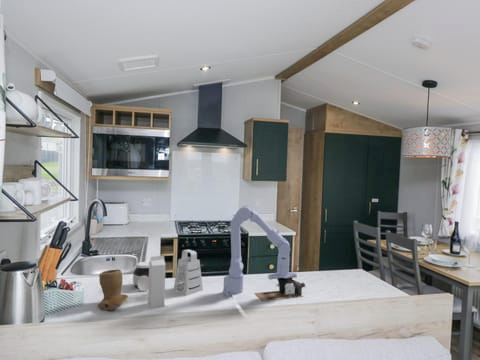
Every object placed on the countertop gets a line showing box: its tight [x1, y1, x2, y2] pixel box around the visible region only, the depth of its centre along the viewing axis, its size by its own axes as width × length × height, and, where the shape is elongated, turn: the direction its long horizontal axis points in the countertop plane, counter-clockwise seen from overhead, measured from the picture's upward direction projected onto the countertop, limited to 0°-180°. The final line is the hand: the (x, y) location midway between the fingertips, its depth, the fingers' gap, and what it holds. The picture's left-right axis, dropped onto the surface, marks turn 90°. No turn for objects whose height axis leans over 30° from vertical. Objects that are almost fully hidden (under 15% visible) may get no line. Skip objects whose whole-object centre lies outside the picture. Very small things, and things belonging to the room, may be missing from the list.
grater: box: [173, 248, 204, 296], centre depth 166 cm, size 10×10×20 cm
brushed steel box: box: [282, 283, 297, 296], centre depth 162 cm, size 7×7×4 cm
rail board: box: [254, 280, 304, 302], centre depth 161 cm, size 22×10×6 cm, turn 109°
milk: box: [147, 255, 166, 309], centre depth 147 cm, size 6×6×22 cm
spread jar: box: [132, 261, 150, 292], centre depth 167 cm, size 12×11×12 cm
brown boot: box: [97, 268, 129, 312], centre depth 145 cm, size 15×12×15 cm
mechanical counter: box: [286, 277, 306, 288], centre depth 176 cm, size 7×13×10 cm
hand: (281, 292), depth 161 cm, fingers closed, pressing on brushed steel box
